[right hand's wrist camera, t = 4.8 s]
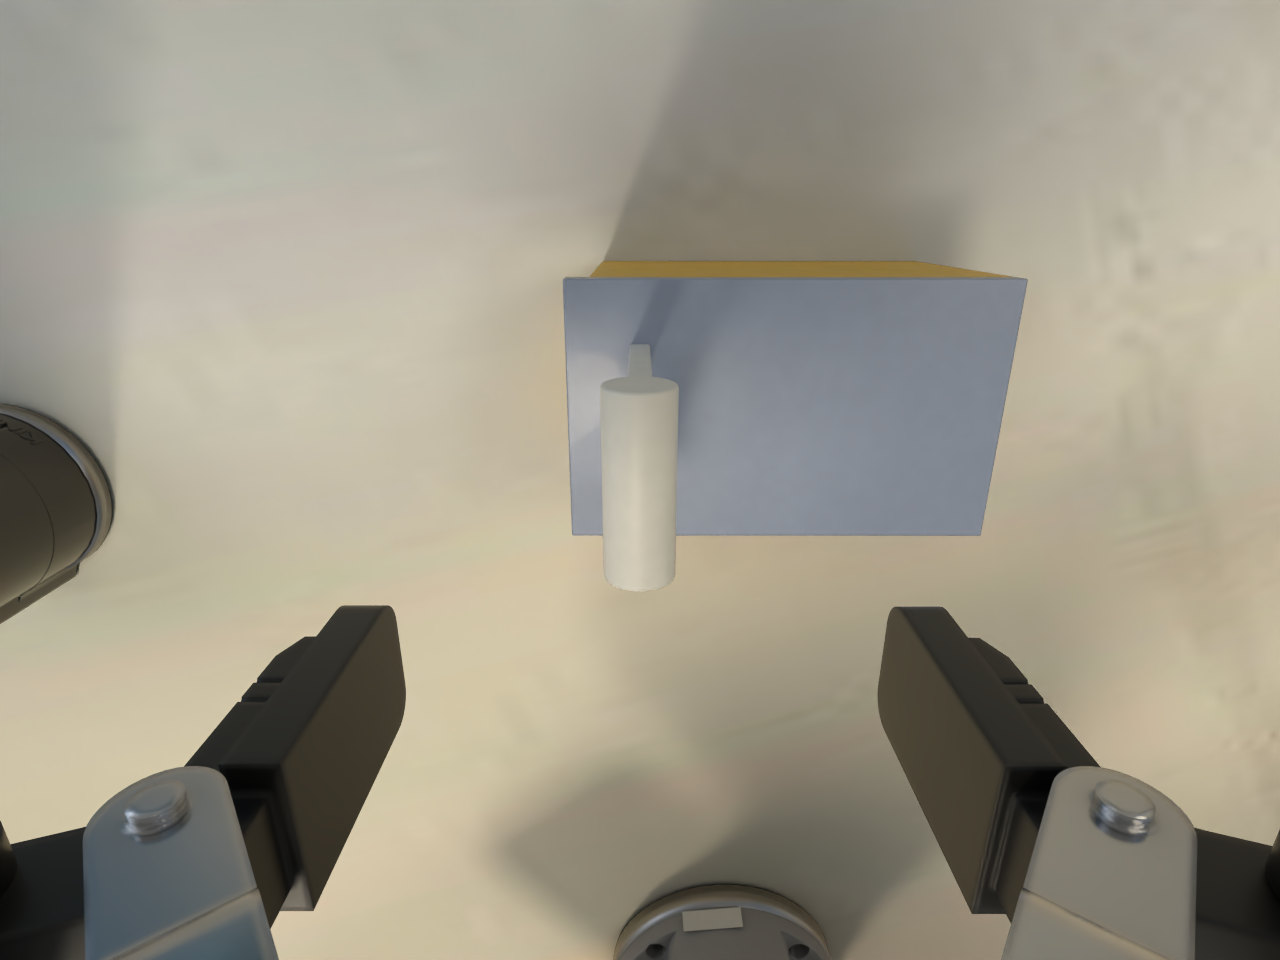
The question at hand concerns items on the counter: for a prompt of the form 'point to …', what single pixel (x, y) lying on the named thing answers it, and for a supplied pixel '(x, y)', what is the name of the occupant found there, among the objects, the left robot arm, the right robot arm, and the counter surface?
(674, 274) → the chest
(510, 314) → the counter surface
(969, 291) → the lid
